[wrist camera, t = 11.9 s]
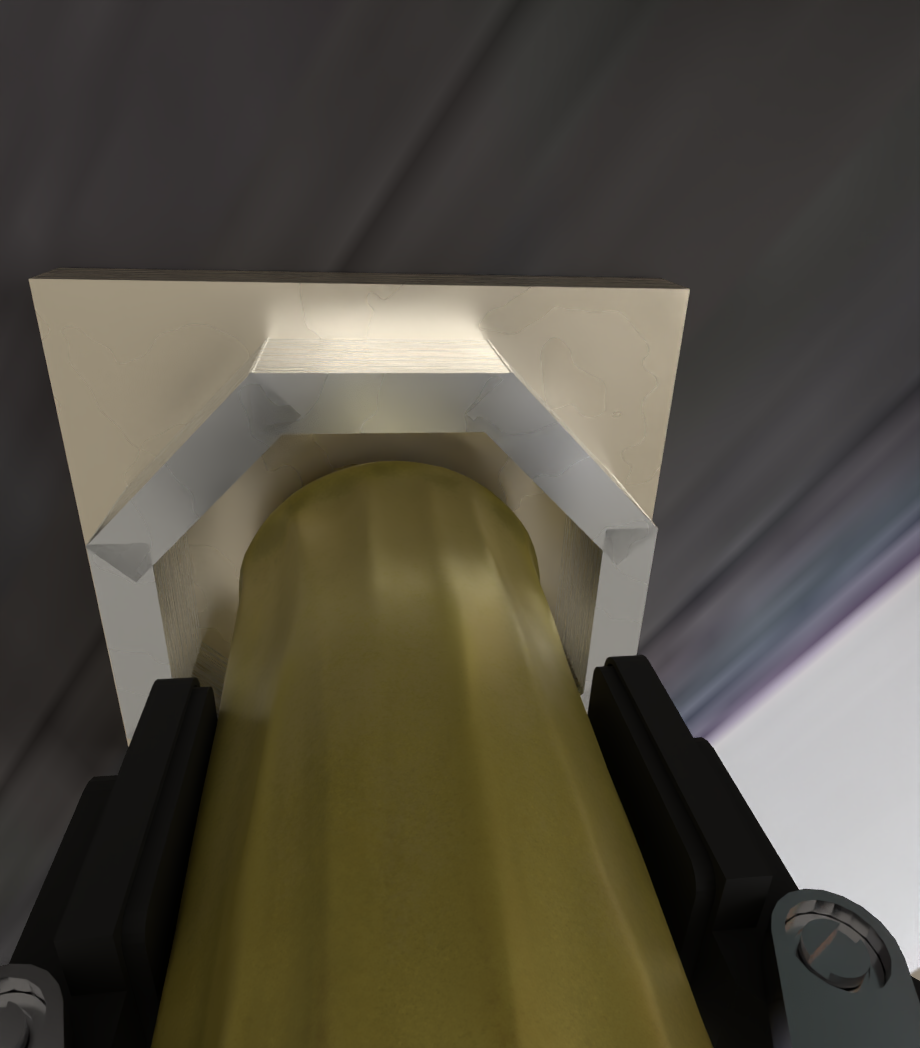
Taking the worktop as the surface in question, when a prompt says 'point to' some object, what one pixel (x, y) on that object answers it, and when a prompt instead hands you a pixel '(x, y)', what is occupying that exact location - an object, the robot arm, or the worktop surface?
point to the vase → (411, 800)
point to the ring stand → (351, 431)
